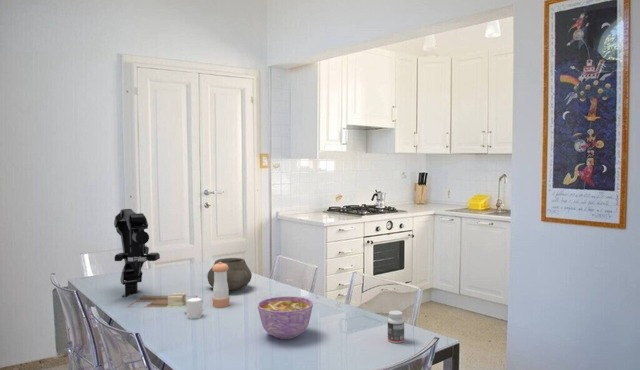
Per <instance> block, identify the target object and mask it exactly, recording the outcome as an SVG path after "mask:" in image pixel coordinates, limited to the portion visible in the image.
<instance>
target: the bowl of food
mask: <svg viewBox="0 0 640 370" xmlns="http://www.w3.org/2000/svg"><path fill="white" fill-rule="evenodd" d="M313 307H314V302H313V301H312V300H311V299H309V298H306V297H301V296H291V295H290V296H275V297H269V298H265V299H264V300H261V301H259V302H258V303H257V309H258V313H259V319H260V321H261V325H262V327H263V329H264V330H265V332H266V333H267V334H268V335H271V336H272V337H275V338H276V339H279V340H290V339H294V338H296V337H297V336H299V335H301V334H303V333H304V332H305V331H306V329H307V328H308V326H309V323H310V319H311V315H312V311H313Z"/></svg>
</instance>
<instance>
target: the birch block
mask: <svg viewBox="0 0 640 370" xmlns="http://www.w3.org/2000/svg"><path fill="white" fill-rule="evenodd" d="M167 296H168V306H183V305H184V304H185V303H186V299H187V293H186V292H185V293H184V292H182V293H179V292H178V293H175V292H174V293H171V294H170V295H167Z"/></svg>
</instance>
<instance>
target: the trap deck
mask: <svg viewBox="0 0 640 370" xmlns="http://www.w3.org/2000/svg"><path fill="white" fill-rule="evenodd" d="M168 296H169V295H142V296H141V297H139V298H138V299H136V300H135V301H134V302H132V303H131V304H129V305H127V308H130V307H131V306H132V305H133V304H135V303H137V302H139V303H140V302H142V303H143V302H148V303H149V302H150V303H149V304H147V305H146V306H145V308H186V303H185V304H184V305H183V306H168ZM194 298H198V295H195V296H194Z"/></svg>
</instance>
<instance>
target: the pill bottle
mask: <svg viewBox="0 0 640 370" xmlns="http://www.w3.org/2000/svg"><path fill="white" fill-rule="evenodd" d="M403 315H404V314H403V311H400V310H390V311H389V312H388V317H389V318H387V341H388V342H390V343H393V344H401V343H403V342H404V341H405V320H404V318H403Z"/></svg>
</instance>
